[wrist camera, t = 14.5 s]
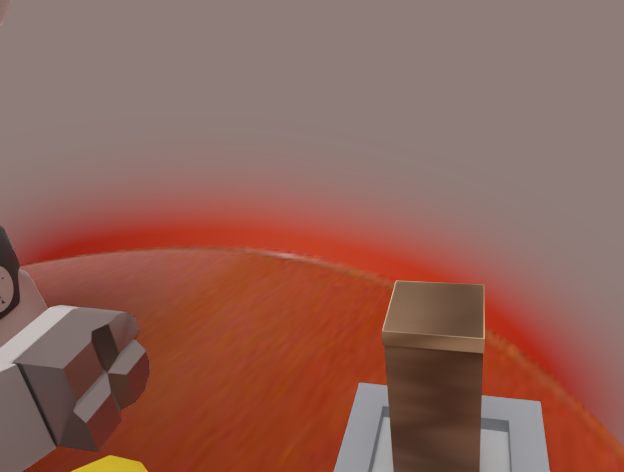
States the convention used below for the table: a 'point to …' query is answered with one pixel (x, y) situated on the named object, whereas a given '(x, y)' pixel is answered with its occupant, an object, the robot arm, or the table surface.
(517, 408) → the plinth base
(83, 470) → the hot dog
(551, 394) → the table surface
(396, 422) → the column block
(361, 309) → the table surface
